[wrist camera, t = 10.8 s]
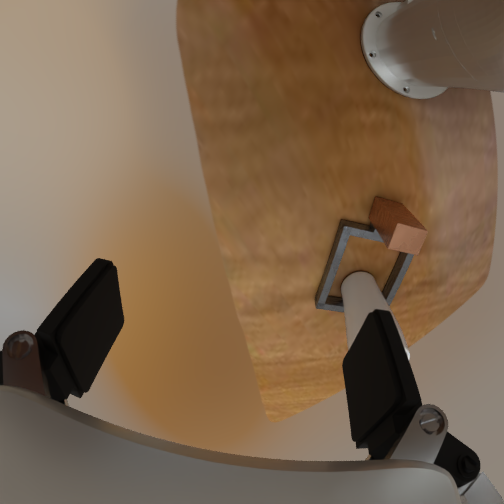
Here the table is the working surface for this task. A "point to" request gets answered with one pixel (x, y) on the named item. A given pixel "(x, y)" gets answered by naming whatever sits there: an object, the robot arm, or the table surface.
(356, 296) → the drinking glass
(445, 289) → the table surface
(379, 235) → the frame
